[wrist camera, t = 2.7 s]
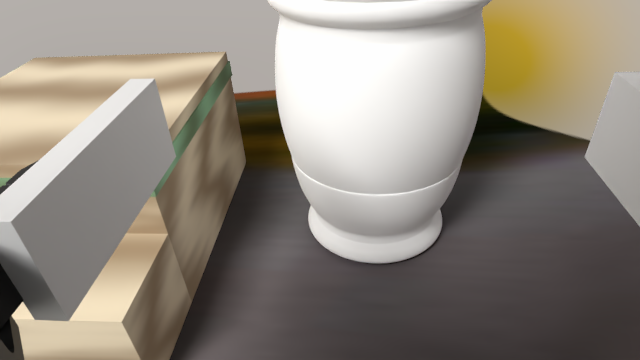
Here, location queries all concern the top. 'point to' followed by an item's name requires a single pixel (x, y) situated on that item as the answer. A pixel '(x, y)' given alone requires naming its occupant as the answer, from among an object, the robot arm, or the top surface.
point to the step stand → (158, 212)
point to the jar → (378, 115)
